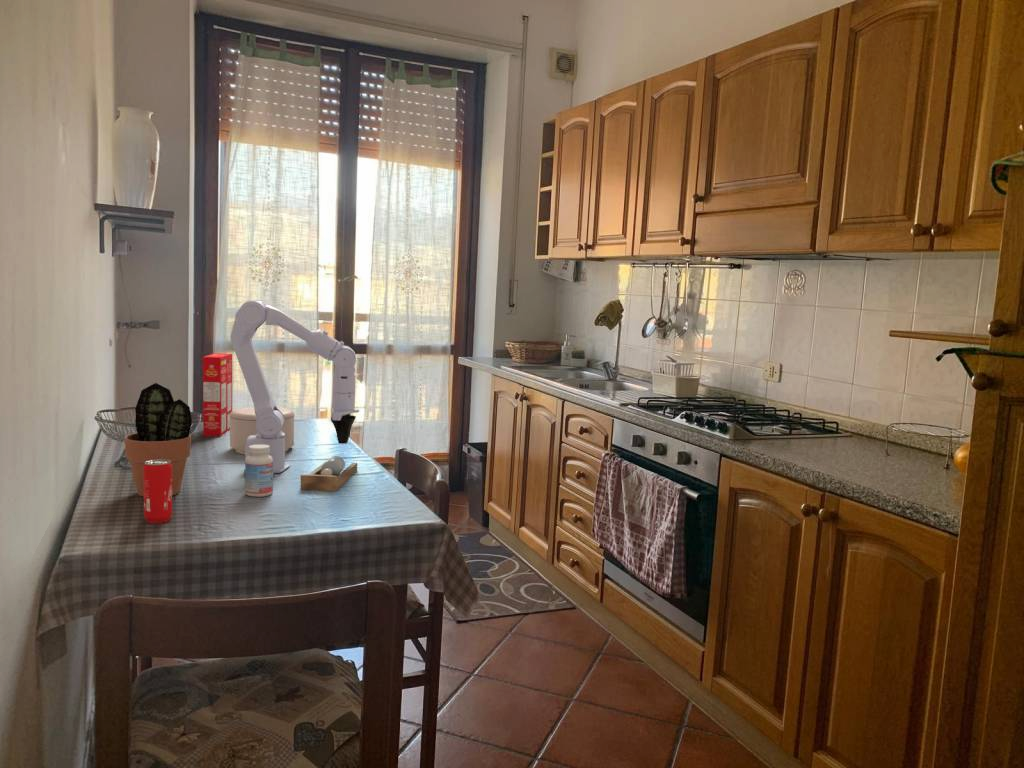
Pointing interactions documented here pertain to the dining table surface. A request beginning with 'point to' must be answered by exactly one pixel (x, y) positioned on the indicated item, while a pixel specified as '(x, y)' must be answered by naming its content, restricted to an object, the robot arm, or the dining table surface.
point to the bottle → (333, 466)
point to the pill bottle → (259, 471)
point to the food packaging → (217, 393)
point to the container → (246, 426)
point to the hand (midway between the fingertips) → (343, 443)
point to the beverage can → (157, 490)
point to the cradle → (326, 479)
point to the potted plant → (159, 434)
